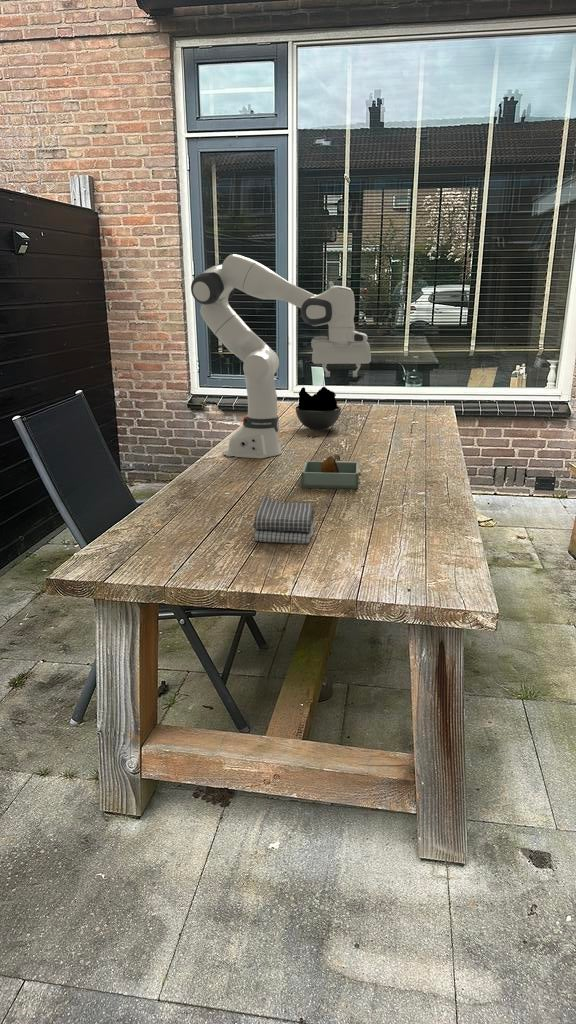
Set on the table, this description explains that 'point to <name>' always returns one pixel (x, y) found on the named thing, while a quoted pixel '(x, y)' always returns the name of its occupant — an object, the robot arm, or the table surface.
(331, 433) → the table surface
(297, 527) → the towel
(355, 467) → the bin
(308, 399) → the bowl of black rocks
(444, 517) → the table surface
